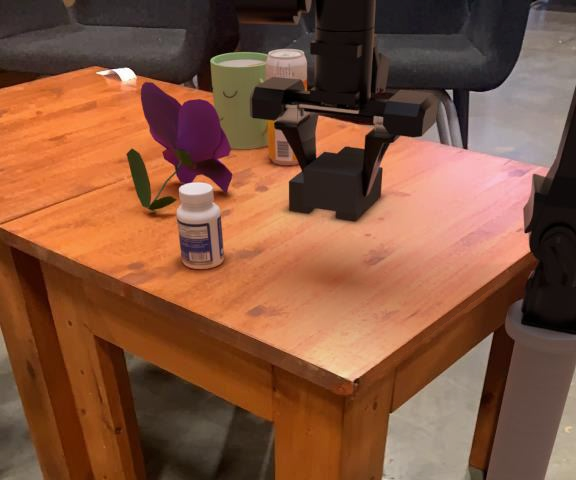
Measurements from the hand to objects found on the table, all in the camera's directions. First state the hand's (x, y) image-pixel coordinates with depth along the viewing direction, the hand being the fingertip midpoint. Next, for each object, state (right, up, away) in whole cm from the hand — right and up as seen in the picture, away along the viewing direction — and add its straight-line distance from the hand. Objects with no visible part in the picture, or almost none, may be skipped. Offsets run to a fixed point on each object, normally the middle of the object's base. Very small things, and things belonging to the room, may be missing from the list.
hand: (339, 191), depth 84 cm
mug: (-12, +27, +45) cm, 54 cm away
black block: (+1, 0, +2) cm, 2 cm away
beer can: (-6, +21, +38) cm, 44 cm away
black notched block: (+1, +8, +24) cm, 26 cm away
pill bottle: (-16, -4, +11) cm, 20 cm away
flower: (-21, +9, +26) cm, 35 cm away
